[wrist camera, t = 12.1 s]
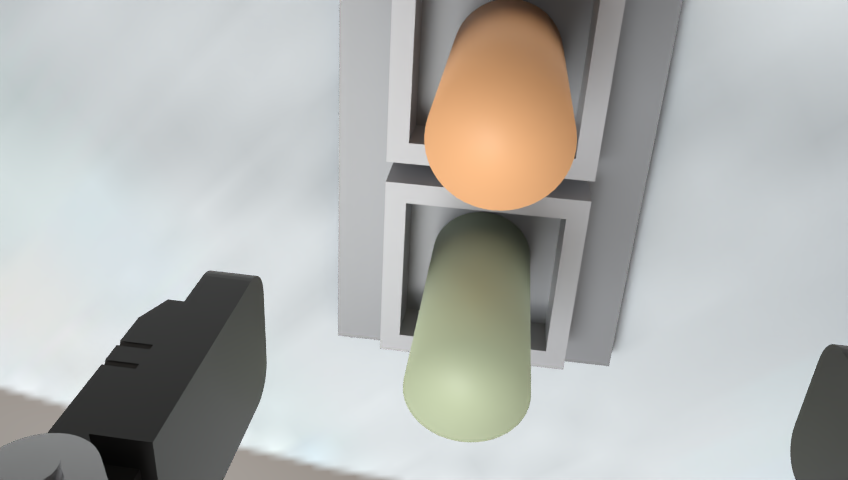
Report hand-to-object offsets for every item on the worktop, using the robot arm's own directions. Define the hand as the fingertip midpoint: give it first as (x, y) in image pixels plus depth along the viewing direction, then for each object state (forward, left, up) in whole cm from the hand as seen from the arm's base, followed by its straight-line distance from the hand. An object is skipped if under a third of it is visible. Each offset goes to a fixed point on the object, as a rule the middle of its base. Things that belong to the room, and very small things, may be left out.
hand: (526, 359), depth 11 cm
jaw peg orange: (+1, -1, -19) cm, 19 cm away
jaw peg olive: (+9, -1, -19) cm, 21 cm away
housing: (+5, -1, -20) cm, 21 cm away
